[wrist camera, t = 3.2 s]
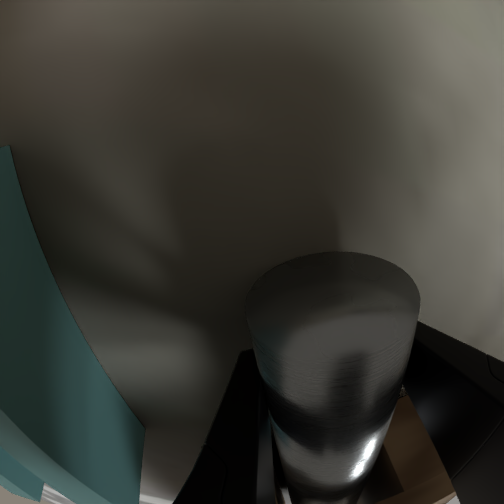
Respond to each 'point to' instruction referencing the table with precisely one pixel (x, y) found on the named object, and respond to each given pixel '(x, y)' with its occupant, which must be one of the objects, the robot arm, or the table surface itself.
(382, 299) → the grey metal cylinder
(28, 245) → the cradle
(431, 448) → the brown wooden block
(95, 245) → the table surface
